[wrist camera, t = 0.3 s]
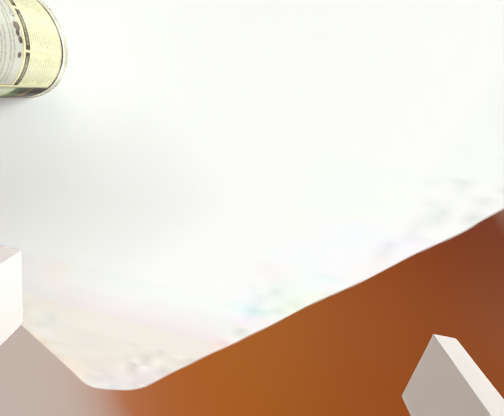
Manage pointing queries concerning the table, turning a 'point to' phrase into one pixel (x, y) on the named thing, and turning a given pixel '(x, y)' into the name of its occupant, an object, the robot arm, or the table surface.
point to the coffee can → (30, 49)
